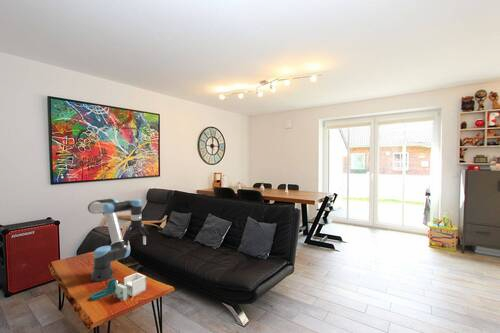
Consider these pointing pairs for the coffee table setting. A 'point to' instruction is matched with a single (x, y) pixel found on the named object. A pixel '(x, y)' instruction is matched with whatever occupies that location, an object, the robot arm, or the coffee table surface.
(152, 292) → the coffee table surface
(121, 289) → the door
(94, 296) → the bracket
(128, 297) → the small parts
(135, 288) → the cabinet
